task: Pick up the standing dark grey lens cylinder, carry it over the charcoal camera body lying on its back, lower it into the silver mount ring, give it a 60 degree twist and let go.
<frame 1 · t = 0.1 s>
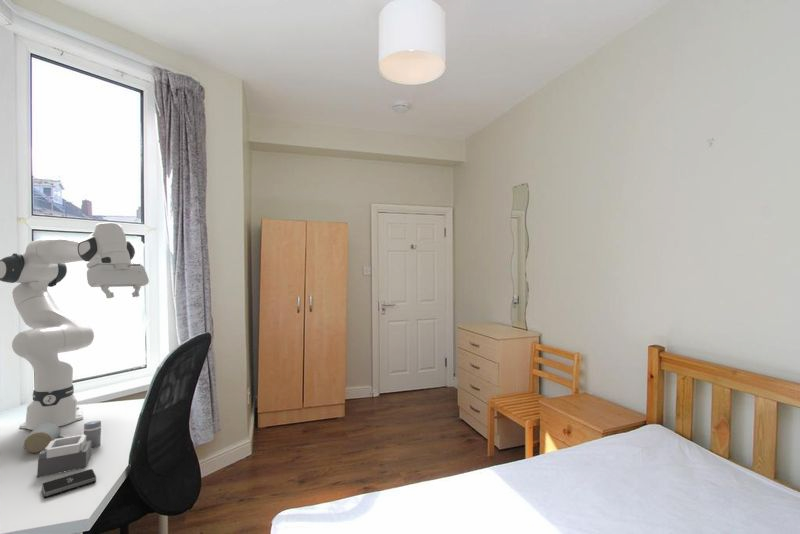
hand: (123, 297, 137), 52 cm above the table, tool tilted 20°, fingers open, 8 cm apart
ceramic mug: (46, 448, 127), on the table
external hard drive: (69, 488, 104), on the table
lens: (91, 446, 128), on the table
camera body: (65, 465, 115), on the table
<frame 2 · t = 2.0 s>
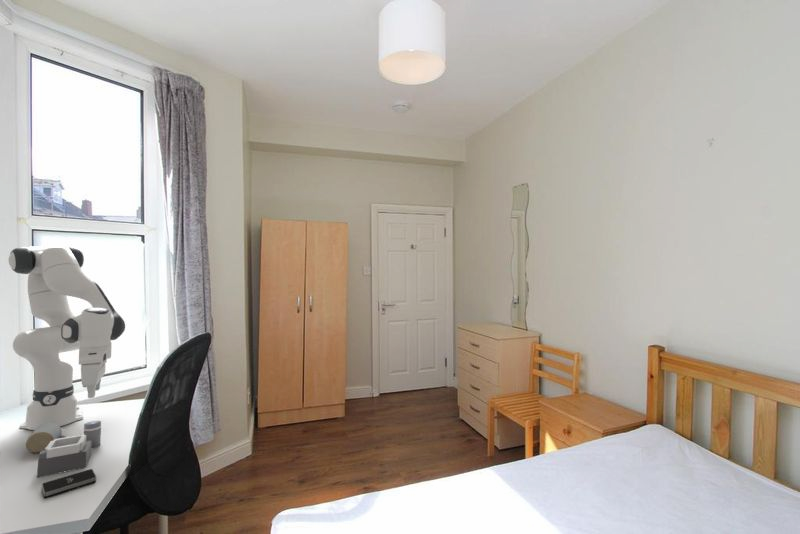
hand: (94, 393, 129), 18 cm above the table, tool pointing down, fingers open, 8 cm apart
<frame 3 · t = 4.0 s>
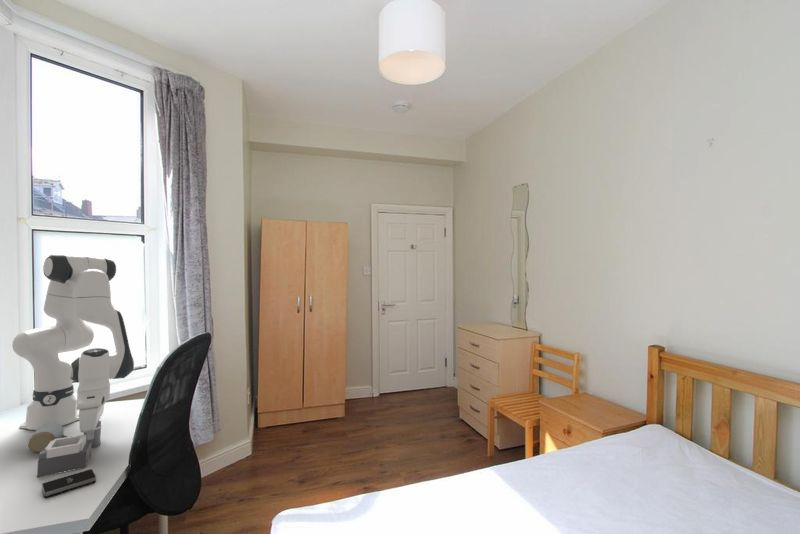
hand: (92, 435, 129), 4 cm above the table, tool pointing down, fingers closed on lens, 5 cm apart
lens: (91, 446, 128), on the table, touching gripper
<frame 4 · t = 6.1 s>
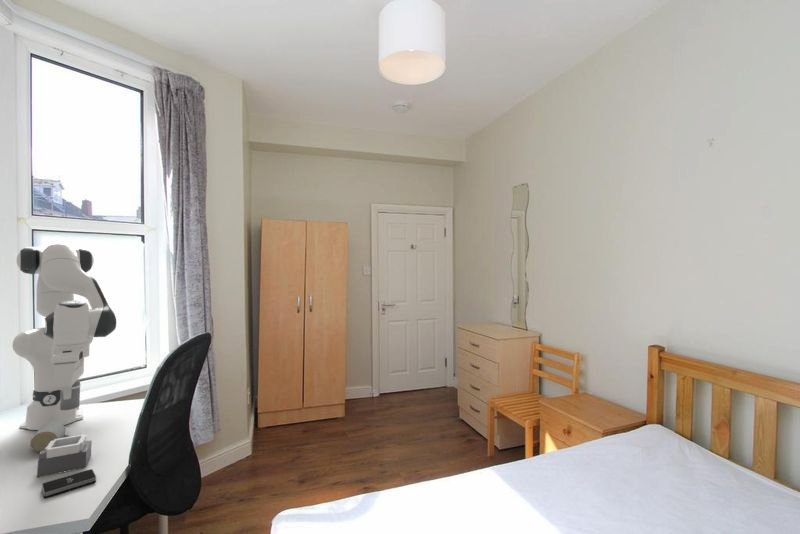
hand: (69, 396, 116), 22 cm above the table, tool pointing down, fingers closed on lens, 5 cm apart
lens: (69, 407, 116), point 18 cm above the table, touching gripper
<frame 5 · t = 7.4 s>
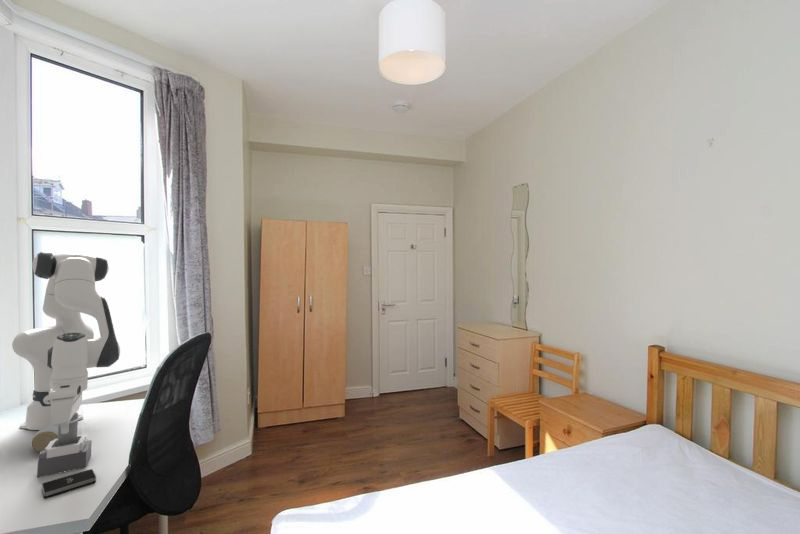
hand: (67, 429, 115), 11 cm above the table, tool pointing down, fingers closed on lens, 5 cm apart
lens: (67, 441, 115), point 8 cm above the table, touching gripper
when the fingers open (10 cm above the table, at t = 8.5 s): lens stays where it is, resting on camera body.
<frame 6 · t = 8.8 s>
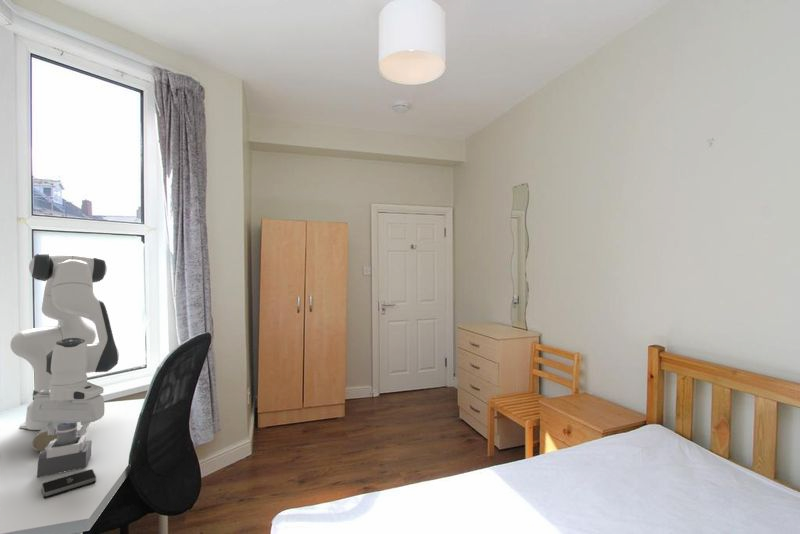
hand: (66, 435, 115), 10 cm above the table, tool pointing down, fingers open, 8 cm apart
lens: (66, 449, 115), point 5 cm above the table, touching camera body
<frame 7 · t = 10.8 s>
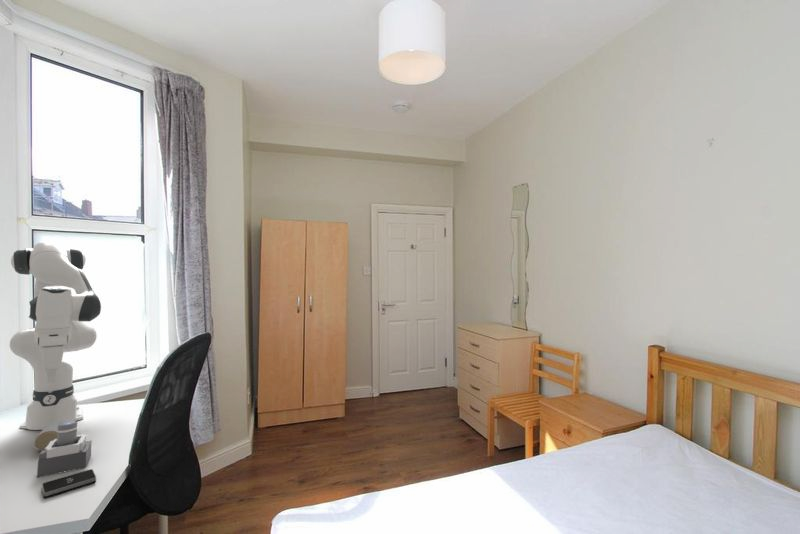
hand: (51, 378, 120), 26 cm above the table, tool pointing down, fingers open, 8 cm apart
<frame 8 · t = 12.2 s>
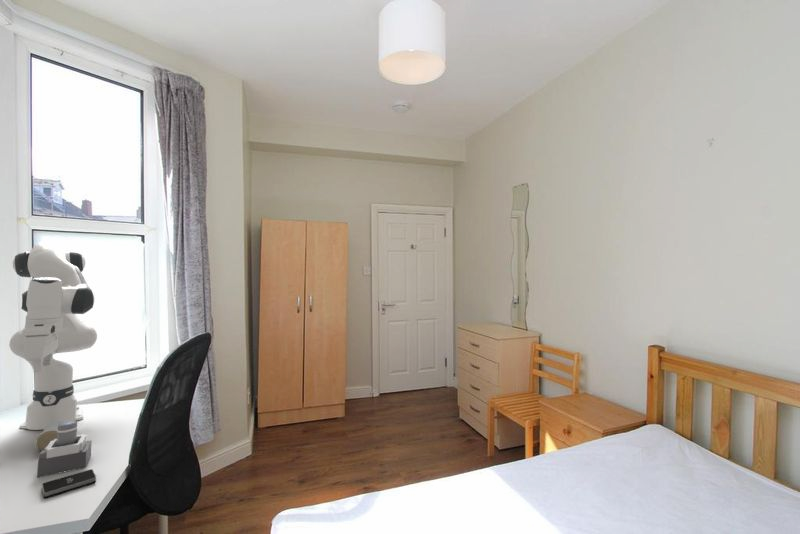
hand: (42, 369, 120), 29 cm above the table, tool pointing down, fingers open, 8 cm apart
at the end: lens 0.1 cm off-centre on the camera body, point 5.0 cm above the camera body's base; lens tilted 0°; the gripper is holding nothing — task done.
